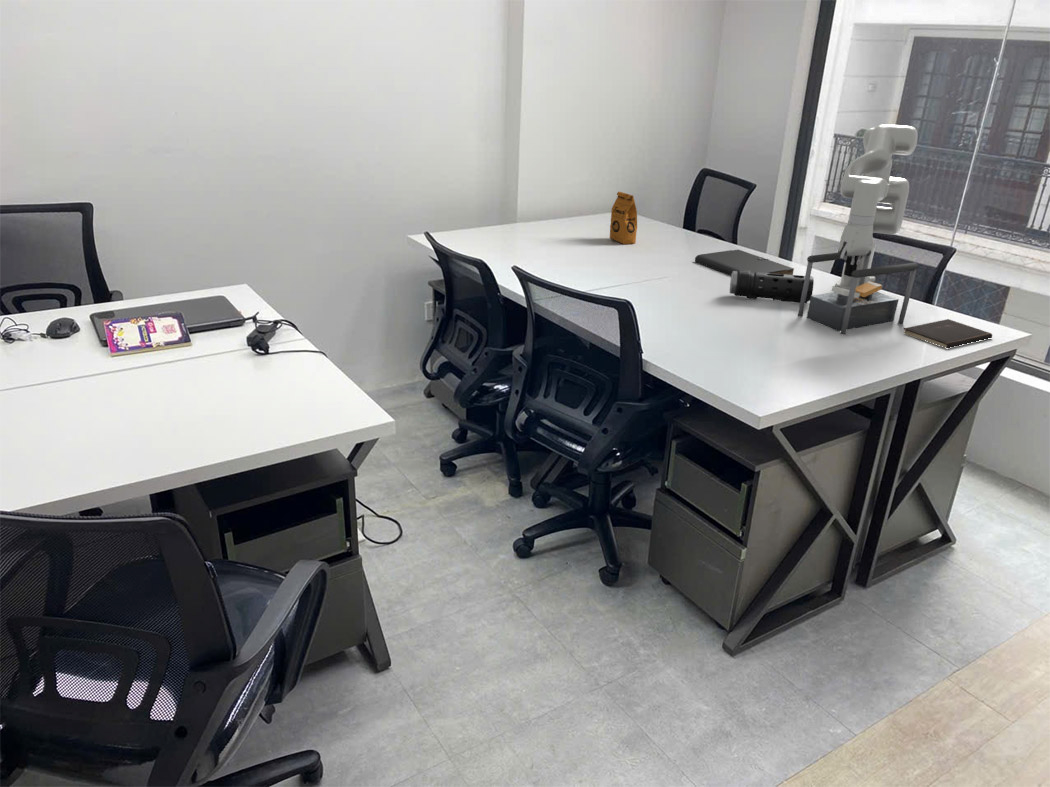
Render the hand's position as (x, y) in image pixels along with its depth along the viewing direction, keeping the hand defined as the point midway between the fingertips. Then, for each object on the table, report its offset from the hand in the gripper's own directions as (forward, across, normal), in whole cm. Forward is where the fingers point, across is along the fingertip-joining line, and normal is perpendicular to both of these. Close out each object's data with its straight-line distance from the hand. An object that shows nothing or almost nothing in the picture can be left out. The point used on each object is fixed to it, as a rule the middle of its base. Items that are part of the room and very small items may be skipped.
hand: (849, 275), depth 255 cm
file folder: (+17, -14, -65) cm, 69 cm away
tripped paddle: (+6, -10, 0) cm, 12 cm away
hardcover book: (+17, -23, +24) cm, 37 cm away
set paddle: (+6, 0, 0) cm, 6 cm away
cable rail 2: (+16, -5, +10) cm, 19 cm away
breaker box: (+16, -5, 0) cm, 17 cm away
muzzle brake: (+16, +6, -28) cm, 33 cm away
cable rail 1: (+16, -5, -10) cm, 19 cm away
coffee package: (+16, +8, -122) cm, 124 cm away
